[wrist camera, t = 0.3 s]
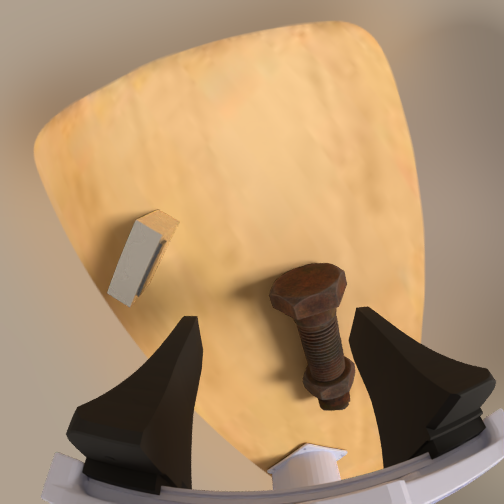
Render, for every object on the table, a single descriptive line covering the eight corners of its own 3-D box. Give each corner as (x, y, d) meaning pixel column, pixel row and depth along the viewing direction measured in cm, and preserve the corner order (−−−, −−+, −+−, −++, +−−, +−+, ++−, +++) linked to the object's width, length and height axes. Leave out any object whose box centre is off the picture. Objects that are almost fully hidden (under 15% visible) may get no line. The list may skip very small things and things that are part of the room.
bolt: (321, 381, 28) (289, 263, 23) (364, 383, 25) (347, 257, 21) (302, 421, 23) (258, 301, 19) (351, 427, 21) (329, 300, 16)
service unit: (151, 286, 22) (131, 310, 18) (129, 273, 22) (106, 295, 18) (182, 223, 21) (165, 236, 16) (158, 209, 20) (136, 219, 16)
